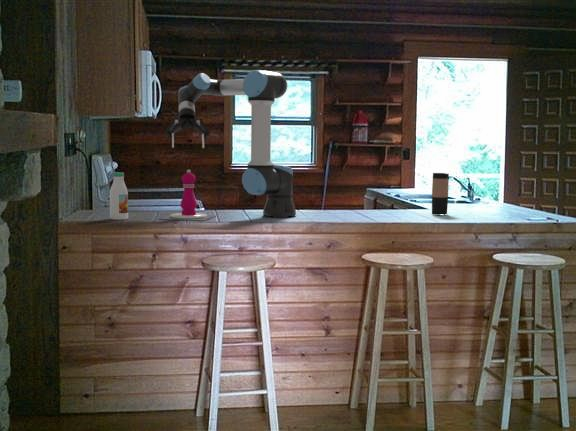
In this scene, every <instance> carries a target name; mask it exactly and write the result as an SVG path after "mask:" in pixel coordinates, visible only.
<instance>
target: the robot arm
mask: <svg viewBox="0 0 576 431" xmlns="http://www.w3.org/2000/svg"><path fill="white" fill-rule="evenodd" d="M287 90H288V82H287V79H286V78H285V76H284V75H283V74H281V73H280V72H276V71H270V70H269V71H268V70H262V69H254V70H251V71H249V72H248V73H247V74H246V75H245V77H244V78H236V79H235V78H233V79H231V78H230V79H228V78H227V79H213V78H212V79H211V78H210V76H208V74H206V73H203V72H200V73H198V74H197V75H196V76H194V77H193V79H192V80H191V81H190V82H189V84H188V85H184V86H181V87H180V88H179V89H178V93H177V98H178V99H177V100H178V119H176V118H175V117H174V118H173V117H172V119H171V123H169V125H168V127H167V128H166V130H165V136H166V137H169V142H171V148H172V149H174V148H175V134H177V133H178V132H179V131H181V130H182V129H189V130H190V129H192V130H193V131H196V133H198V134H199V135H200V136H201V142H202V143H201V144H202V145H201V146H202V147H201V148H202V149H204V148H205V142H207V137H210V136H211V131H210V129H209V128H208V127H207V126H206V125H205V123H204V122H203V118H199V119H198V120H197V119H196V109H195V108H196V106H195V102H196V101H197V100H198V99H199V98H200V97H201V96H202V95H204V96H205V95H207V96H217V97H225V96H247V102H248V103H249V104H250V106H251V107H250V108H251V111H250V112H251V116H250V117H251V121H250V122H251V126H250V127H251V128H250V132H251V133H250V134H251V135H250V136H251V137H250V138H251V139H250V161H249V162H248V163H247V167H246V168H247V169H245V170H244V172H243V173H242V176H241V183H242V186H243V188H244V190H246V192H247V193H248V194H250V195H254V196H255V195H256V196H262V195H267V196H266V201H265V205H264V207H263V211H262V216H263V215H266V216H275V217H274V218H288V217H287V216H295V215H296V216H297V211H296V207H295V203H294V201H293V186H294V185H293V181H294V180H293V179H294V174H293V172H294V171H293V168H292V167H291V166H287V165H279V164H278V165H277V164H274V163H273V162H272V160H271V147H272V146H271V141H272V140H271V138H272V136H271V135H272V133H271V131H272V128H271V127H272V126H271V125H272V122H271V121H272V105H273V104H274V103H275V99H280V98H281V97H283V96H284V95H285V94H286V92H287ZM266 216H265V217H266ZM296 216H295V217H296Z"/></svg>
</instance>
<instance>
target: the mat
mask: <svg viewBox="0 0 576 431" xmlns="http://www.w3.org/2000/svg"><path fill="white" fill-rule="evenodd" d="M216 216H217V215H211V214H207V218H201V219H176V218H171V217H170V215H168V216H164V217H163V216H162V217H161V218H160V217H159V220H161V221H162V220H163V221H164V220H165V221H167V220H168V221H186V222H187V221H192V222H205V221H208V220H211V219H213V217H214V218H216Z"/></svg>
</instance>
